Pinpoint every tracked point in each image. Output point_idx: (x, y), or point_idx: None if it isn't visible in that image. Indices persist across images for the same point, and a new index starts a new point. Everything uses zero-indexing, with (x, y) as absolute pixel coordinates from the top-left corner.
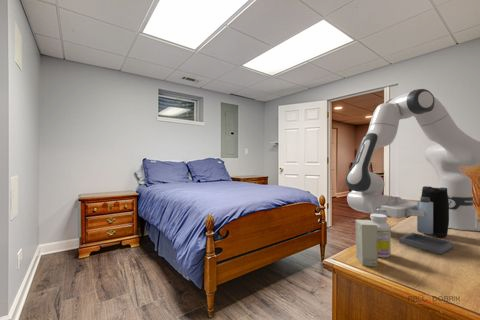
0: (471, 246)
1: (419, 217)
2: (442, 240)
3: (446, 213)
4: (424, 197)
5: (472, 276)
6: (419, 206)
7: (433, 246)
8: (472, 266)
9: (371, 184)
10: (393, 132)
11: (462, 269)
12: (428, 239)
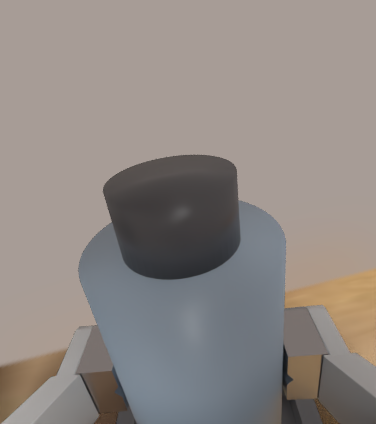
0: (43, 365)
1: (279, 420)
2: (133, 421)
3: None
4: (152, 183)
5: (372, 274)
6: (282, 319)
7: (305, 400)
8: (292, 295)
9: None
10: None
11: (355, 298)
12: None
